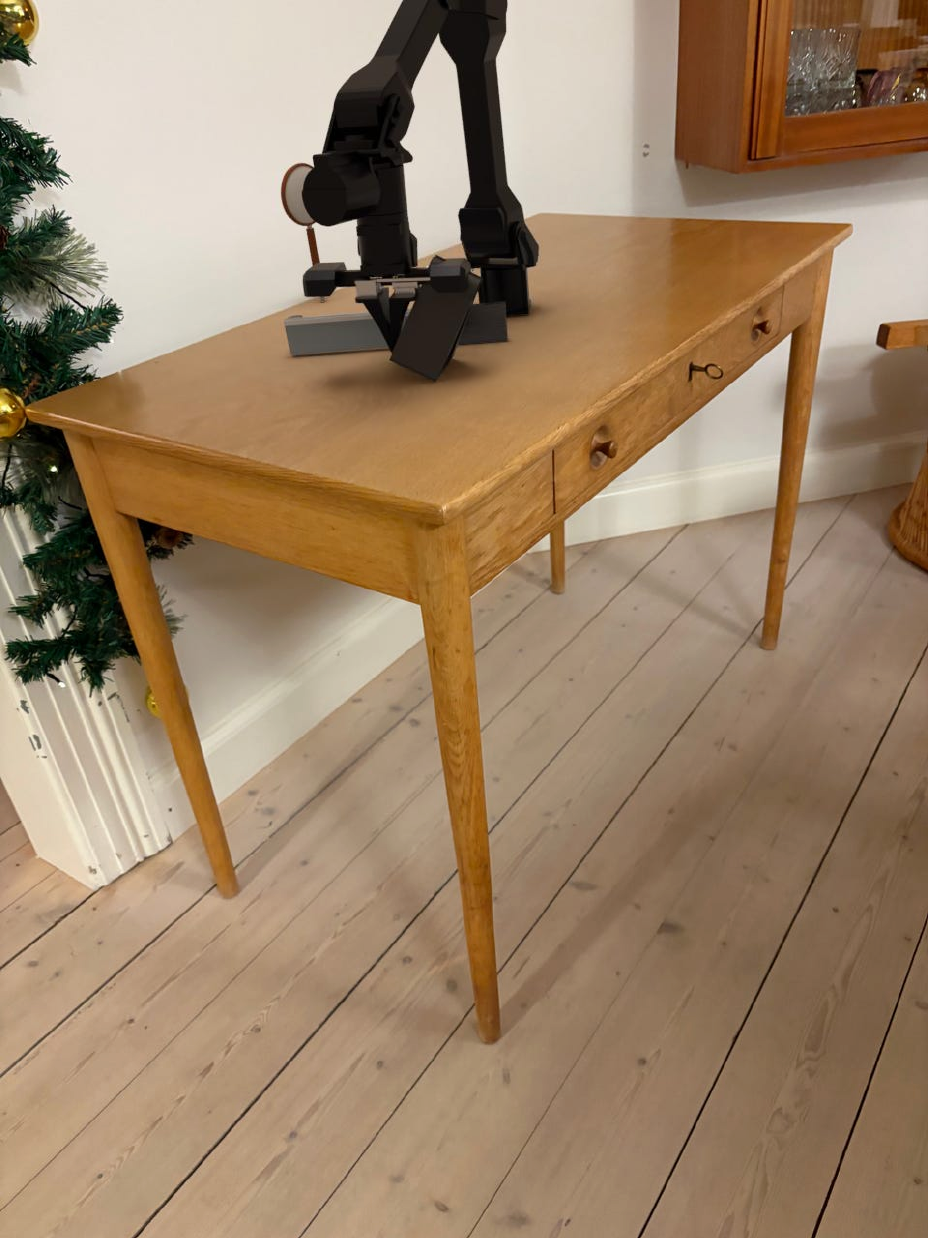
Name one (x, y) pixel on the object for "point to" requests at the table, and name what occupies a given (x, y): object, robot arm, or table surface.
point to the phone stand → (434, 328)
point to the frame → (482, 324)
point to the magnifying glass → (299, 204)
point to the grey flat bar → (334, 333)
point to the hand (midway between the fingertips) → (394, 352)
